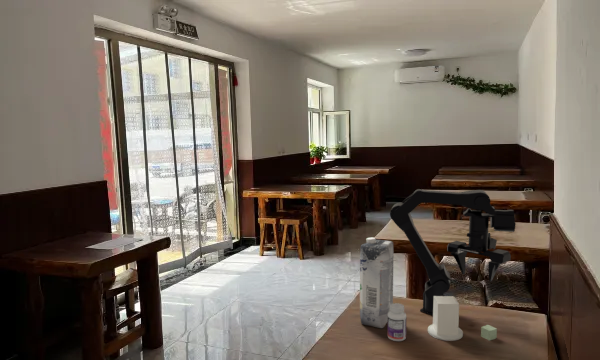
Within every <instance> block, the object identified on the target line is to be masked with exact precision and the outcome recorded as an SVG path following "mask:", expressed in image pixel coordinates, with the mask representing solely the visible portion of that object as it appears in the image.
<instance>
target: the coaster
mask: <svg viewBox="0 0 600 360" xmlns="http://www.w3.org/2000/svg"><path fill="white" fill-rule="evenodd" d="M427 333H428V335H430V337H433V338H435V339H437V340H440V341H447V342H449V341H450V342H452V341H453V342H454V341H459V340H460V339H462V338H463V336H464V331H463V330H462V329H461V328H460V327H458V335H437V333H436V331H435V329H434V327H433V323H432V324H430V325H429V326H428V327H427Z"/></svg>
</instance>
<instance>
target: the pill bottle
mask: <svg viewBox="0 0 600 360" xmlns="http://www.w3.org/2000/svg"><path fill="white" fill-rule="evenodd" d="M406 313H407V312H405V306H404V304H402V303H398V302H395V303H394V302H393V304H391V305H390V312H389V313H388V322H387V338H388V339H389V340H391V341H392V342H393V341H394V342H402V341H404V340H406V338H407V314H406Z"/></svg>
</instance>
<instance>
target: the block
mask: <svg viewBox="0 0 600 360" xmlns="http://www.w3.org/2000/svg"><path fill="white" fill-rule="evenodd" d="M497 335H498V328H496V327H494V326H492V325H489V324H486V325H483V326H481V328H480V337H482V338H483V339H486V340H487V341H492V340H495V339H497Z"/></svg>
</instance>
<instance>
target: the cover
mask: <svg viewBox="0 0 600 360" xmlns="http://www.w3.org/2000/svg"><path fill="white" fill-rule="evenodd" d="M459 317H460V303H459V302H458V300H457V299H456V297H455V296H452V295H451V296H448V295H447V296H446V295H445V296H434V300H433V315H432V324H433V327H434V329H435V331H436V333H437V335H458V328H459V322H460V319H459Z"/></svg>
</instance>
